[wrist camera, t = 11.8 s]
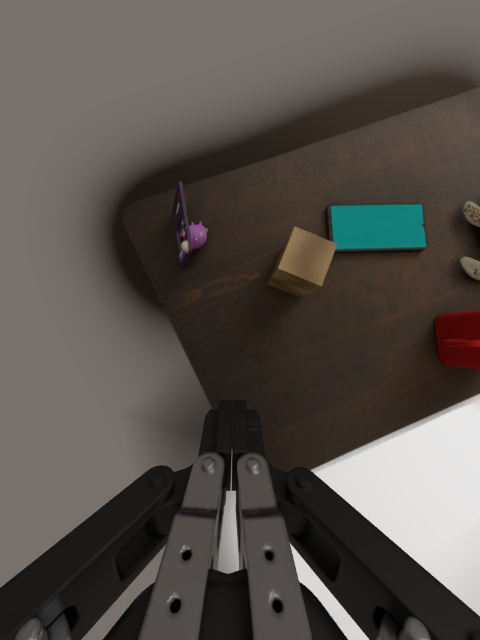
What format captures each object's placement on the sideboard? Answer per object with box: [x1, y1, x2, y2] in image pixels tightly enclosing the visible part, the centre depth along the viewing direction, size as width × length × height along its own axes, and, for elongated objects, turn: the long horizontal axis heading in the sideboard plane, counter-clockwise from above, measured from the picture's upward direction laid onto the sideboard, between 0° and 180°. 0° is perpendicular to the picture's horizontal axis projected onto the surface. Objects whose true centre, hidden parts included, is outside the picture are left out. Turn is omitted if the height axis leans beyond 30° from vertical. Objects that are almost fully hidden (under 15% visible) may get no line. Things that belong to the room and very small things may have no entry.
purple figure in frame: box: [172, 181, 208, 269], centre depth 33 cm, size 7×5×9 cm
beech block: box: [267, 227, 337, 298], centre depth 32 cm, size 6×6×8 cm
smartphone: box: [326, 203, 428, 253], centre depth 36 cm, size 7×1×15 cm
